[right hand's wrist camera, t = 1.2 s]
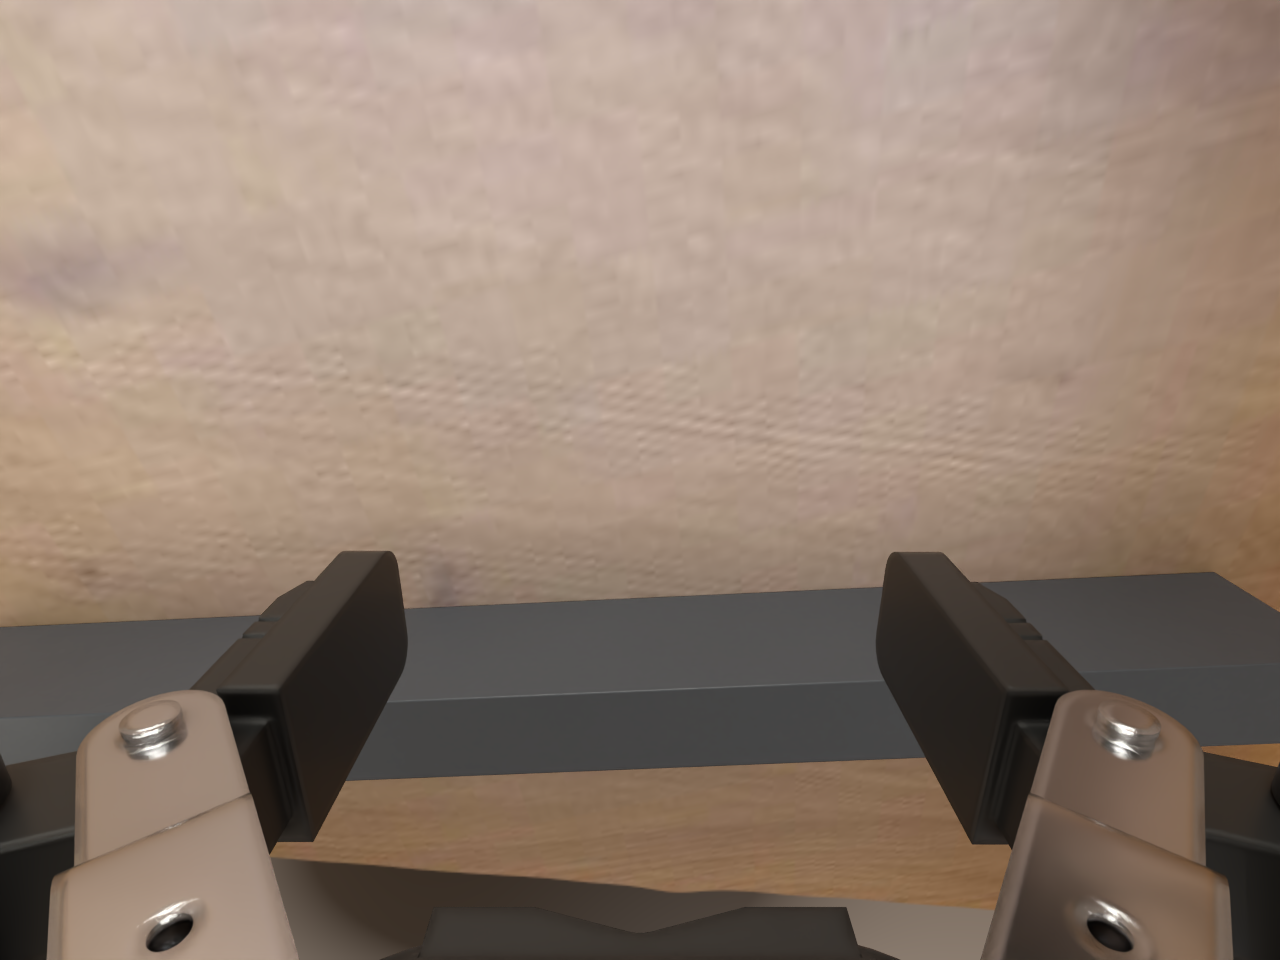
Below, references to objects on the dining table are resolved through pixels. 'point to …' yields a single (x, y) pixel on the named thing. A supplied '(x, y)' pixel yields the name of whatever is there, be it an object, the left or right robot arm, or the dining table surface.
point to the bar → (673, 675)
